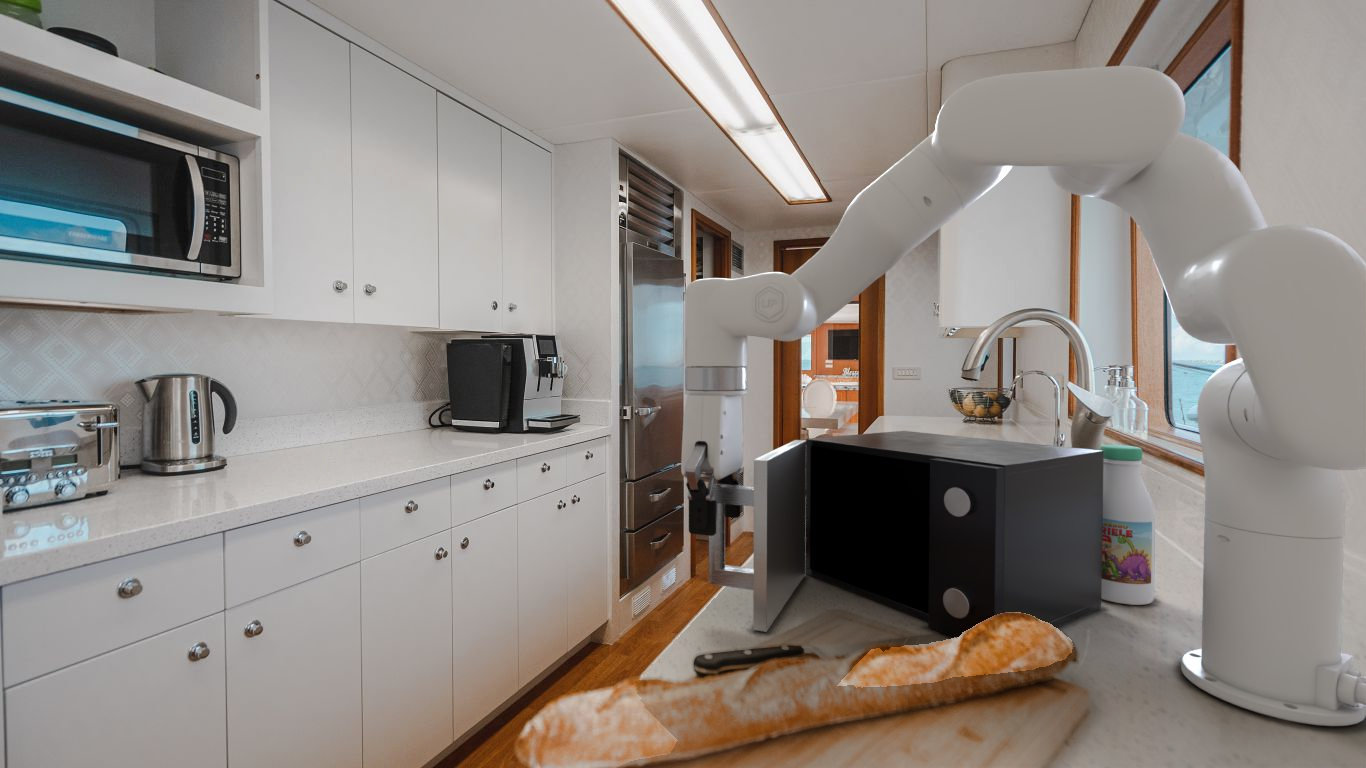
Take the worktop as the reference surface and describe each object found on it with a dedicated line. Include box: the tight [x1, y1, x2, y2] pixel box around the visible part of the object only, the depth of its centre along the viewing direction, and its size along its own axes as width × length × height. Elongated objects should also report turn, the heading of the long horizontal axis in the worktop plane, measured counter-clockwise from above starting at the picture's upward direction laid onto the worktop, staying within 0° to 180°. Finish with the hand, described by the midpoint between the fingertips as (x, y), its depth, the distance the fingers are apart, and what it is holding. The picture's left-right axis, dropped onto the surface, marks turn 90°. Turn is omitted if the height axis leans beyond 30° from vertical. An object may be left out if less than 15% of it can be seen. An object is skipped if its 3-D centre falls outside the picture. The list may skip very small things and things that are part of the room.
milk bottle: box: [1099, 444, 1157, 606], centre depth 83 cm, size 8×8×20 cm
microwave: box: [805, 430, 1104, 639], centre depth 85 cm, size 24×30×20 cm
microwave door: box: [708, 439, 807, 633], centre depth 83 cm, size 8×22×20 cm, turn 157°
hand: (715, 524), depth 76 cm, fingers open, 8 cm apart
